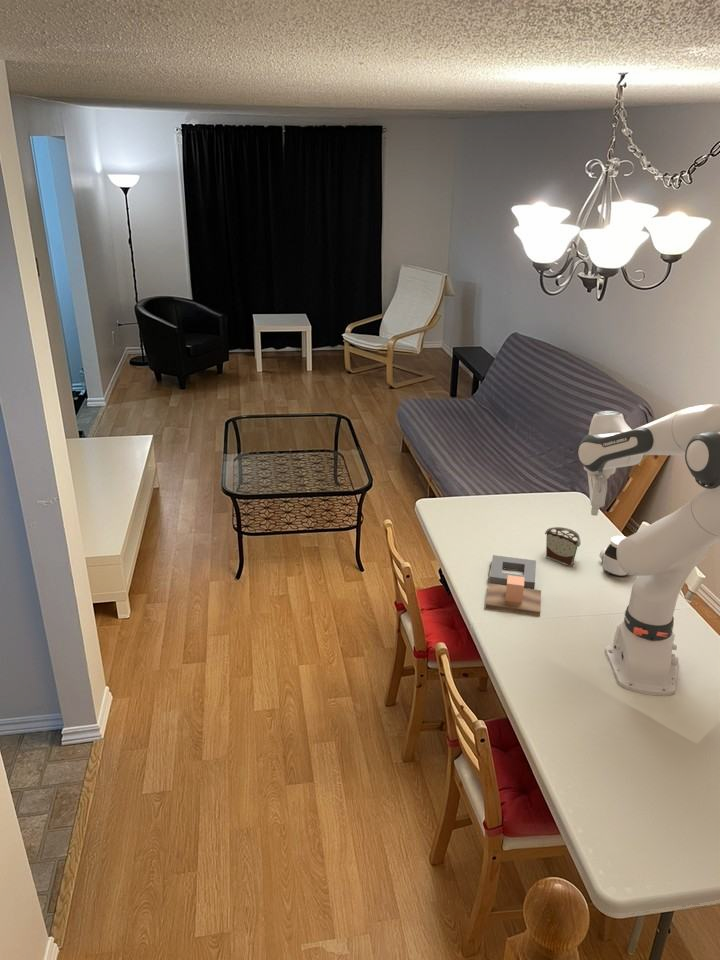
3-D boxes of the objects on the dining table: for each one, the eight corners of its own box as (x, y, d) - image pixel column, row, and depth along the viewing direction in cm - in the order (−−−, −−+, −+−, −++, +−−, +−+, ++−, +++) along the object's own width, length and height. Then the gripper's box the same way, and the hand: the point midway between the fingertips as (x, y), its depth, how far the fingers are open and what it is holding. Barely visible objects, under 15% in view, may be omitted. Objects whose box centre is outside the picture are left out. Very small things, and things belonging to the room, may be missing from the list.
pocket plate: (534, 589, 230) (535, 582, 229) (489, 583, 233) (489, 576, 232) (535, 567, 242) (536, 560, 241) (492, 561, 245) (492, 555, 244)
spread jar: (618, 582, 235) (624, 550, 230) (587, 568, 242) (592, 537, 238) (638, 569, 242) (644, 538, 237) (607, 556, 250) (613, 525, 245)
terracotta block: (521, 602, 220) (523, 585, 218) (505, 600, 221) (506, 583, 219) (522, 594, 225) (524, 577, 222) (505, 591, 226) (507, 574, 223)
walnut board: (539, 616, 217) (540, 611, 216) (485, 608, 220) (485, 604, 219) (540, 594, 227) (541, 590, 227) (488, 587, 231) (488, 583, 230)
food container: (584, 561, 246) (588, 534, 242) (575, 568, 242) (579, 541, 238) (551, 548, 254) (554, 522, 250) (542, 555, 250) (545, 528, 246)
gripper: (614, 479, 202) (606, 524, 208) (609, 452, 220) (602, 494, 226) (590, 477, 203) (583, 521, 209) (587, 450, 221) (581, 492, 227)
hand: (593, 507), depth 217 cm, fingers open, 8 cm apart
